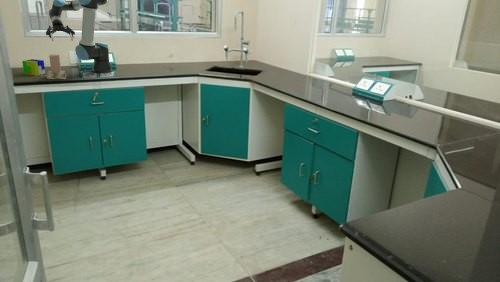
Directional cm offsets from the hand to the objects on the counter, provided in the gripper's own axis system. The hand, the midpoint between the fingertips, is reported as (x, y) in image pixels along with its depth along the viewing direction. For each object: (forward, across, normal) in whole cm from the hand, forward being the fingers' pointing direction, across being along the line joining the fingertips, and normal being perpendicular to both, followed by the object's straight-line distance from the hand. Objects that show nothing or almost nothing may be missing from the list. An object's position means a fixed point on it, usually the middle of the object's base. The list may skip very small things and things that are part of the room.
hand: (62, 39), depth 287 cm
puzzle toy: (+9, +22, -24) cm, 34 cm away
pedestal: (+26, +9, -14) cm, 32 cm away
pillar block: (+24, +9, -10) cm, 28 cm away
